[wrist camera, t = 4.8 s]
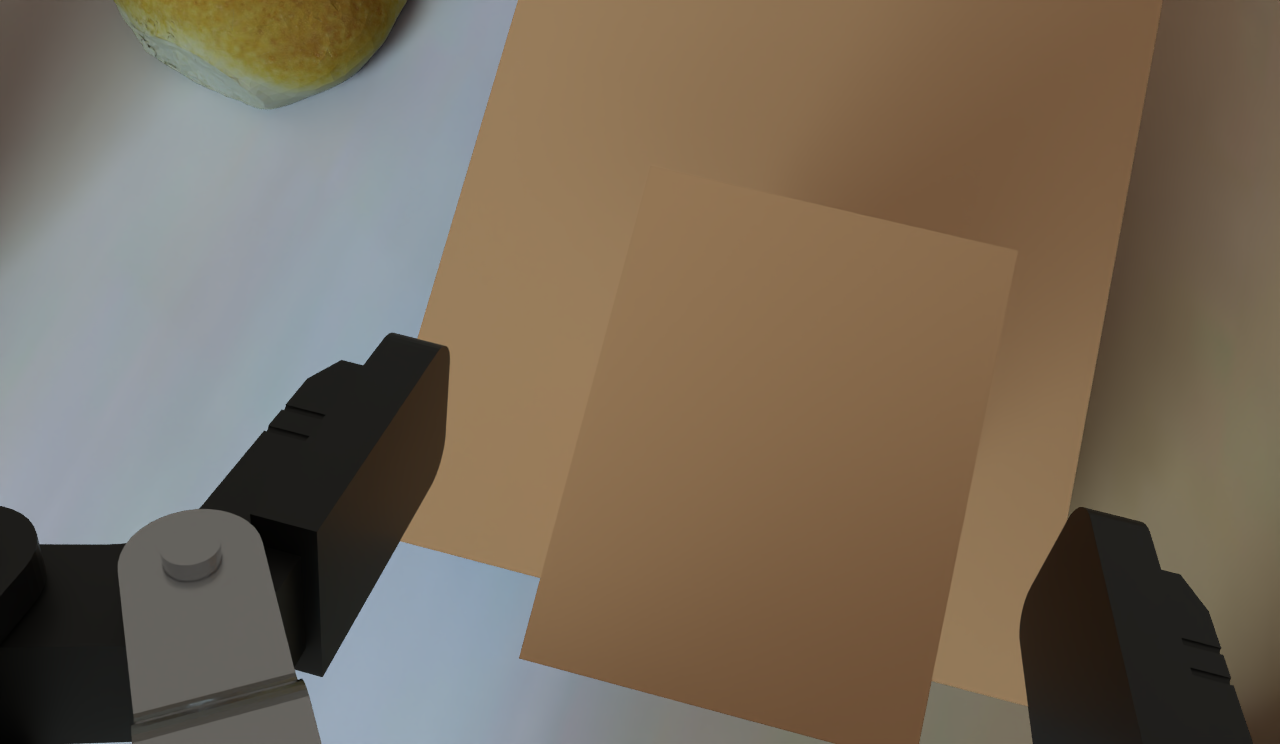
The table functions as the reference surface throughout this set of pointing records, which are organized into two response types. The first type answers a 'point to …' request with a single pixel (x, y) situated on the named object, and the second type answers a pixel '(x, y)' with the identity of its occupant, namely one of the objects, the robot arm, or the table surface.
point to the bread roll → (263, 42)
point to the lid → (784, 338)
